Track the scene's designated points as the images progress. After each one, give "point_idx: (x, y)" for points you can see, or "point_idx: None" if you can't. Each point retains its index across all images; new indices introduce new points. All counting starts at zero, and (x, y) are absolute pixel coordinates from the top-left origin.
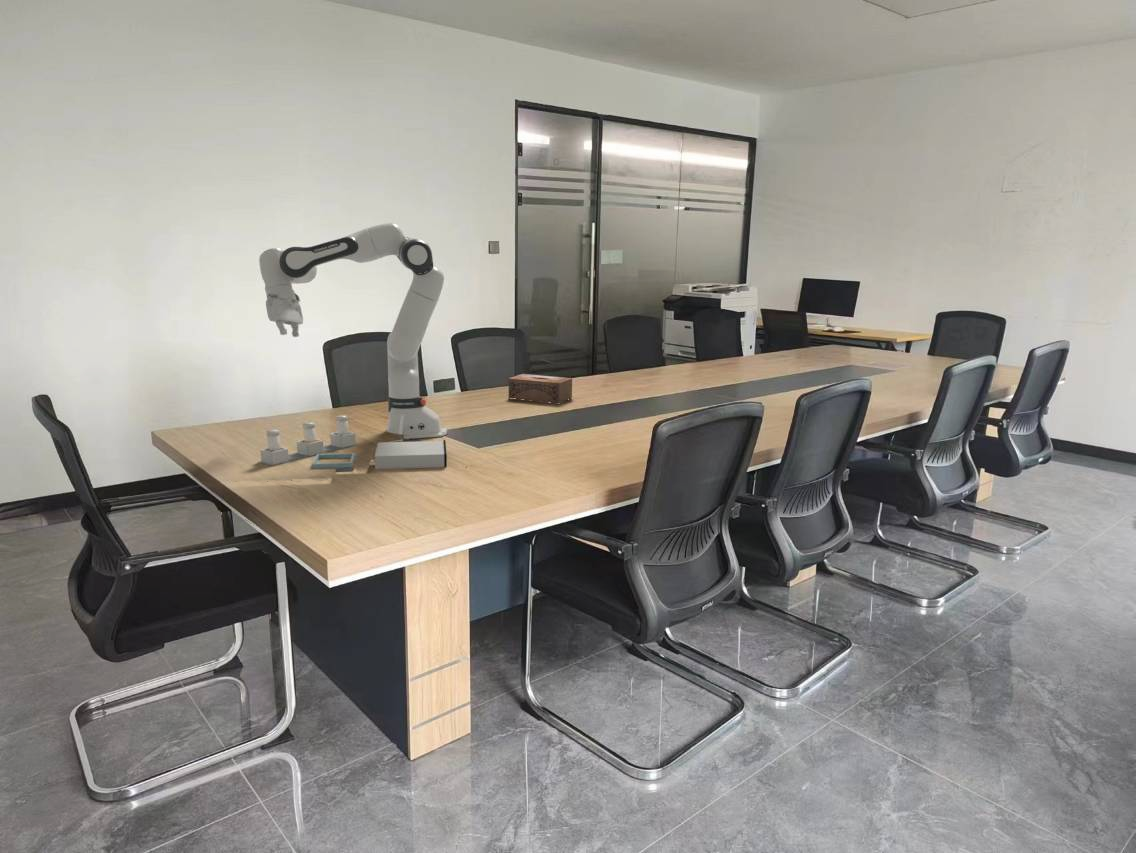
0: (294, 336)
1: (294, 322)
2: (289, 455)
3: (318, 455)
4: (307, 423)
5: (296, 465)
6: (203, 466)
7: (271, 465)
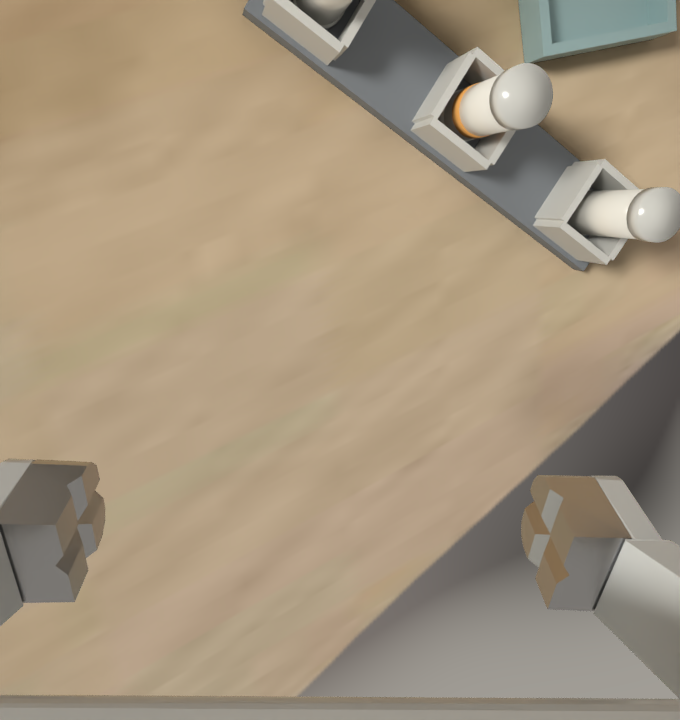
0: (99, 502)
1: (21, 703)
2: (500, 189)
3: (562, 42)
4: (530, 101)
5: (560, 135)
6: (566, 436)
7: None
